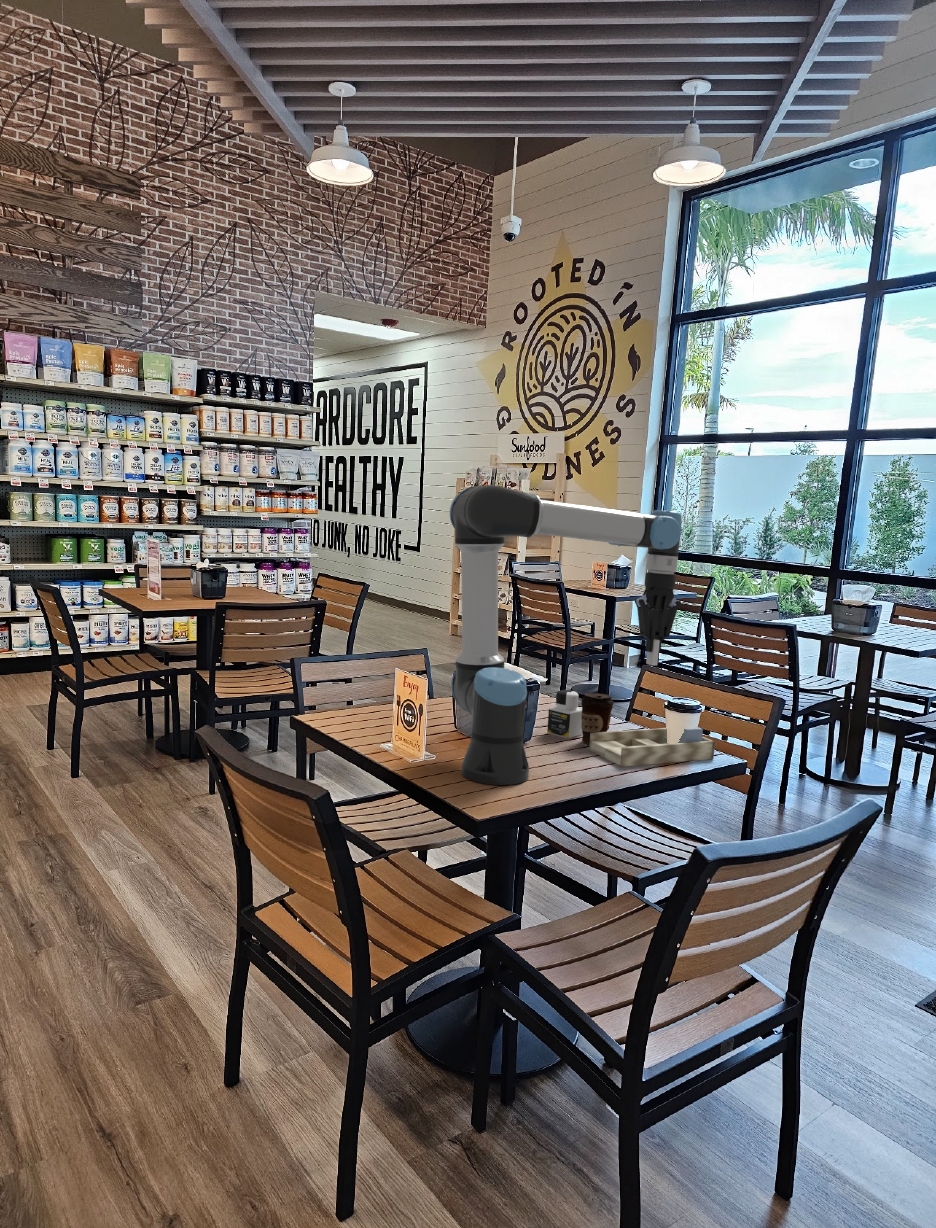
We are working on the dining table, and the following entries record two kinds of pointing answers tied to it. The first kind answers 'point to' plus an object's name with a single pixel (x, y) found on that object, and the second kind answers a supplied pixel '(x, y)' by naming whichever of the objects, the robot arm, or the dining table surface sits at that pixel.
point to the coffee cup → (595, 714)
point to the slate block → (691, 735)
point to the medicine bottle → (565, 715)
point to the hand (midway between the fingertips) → (651, 664)
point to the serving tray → (647, 747)
